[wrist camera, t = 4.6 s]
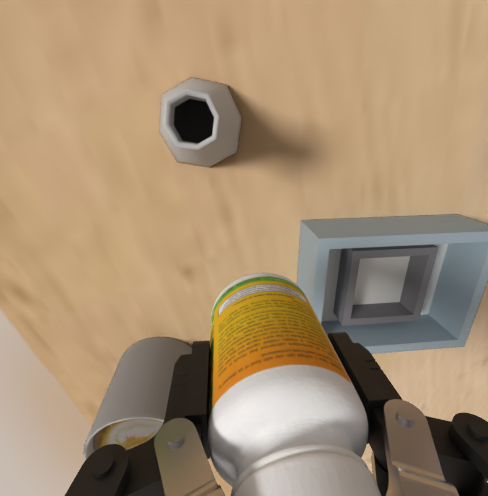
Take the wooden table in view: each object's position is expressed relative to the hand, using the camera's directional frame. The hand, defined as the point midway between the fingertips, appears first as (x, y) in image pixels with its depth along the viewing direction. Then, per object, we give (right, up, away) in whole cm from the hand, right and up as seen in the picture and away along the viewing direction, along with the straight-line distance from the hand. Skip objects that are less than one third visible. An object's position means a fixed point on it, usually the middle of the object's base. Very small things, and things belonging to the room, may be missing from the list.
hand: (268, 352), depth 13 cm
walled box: (+13, +2, +19) cm, 23 cm away
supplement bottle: (0, +1, +3) cm, 3 cm away
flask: (-5, +16, +12) cm, 20 cm away
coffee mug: (-10, -10, +22) cm, 26 cm away
